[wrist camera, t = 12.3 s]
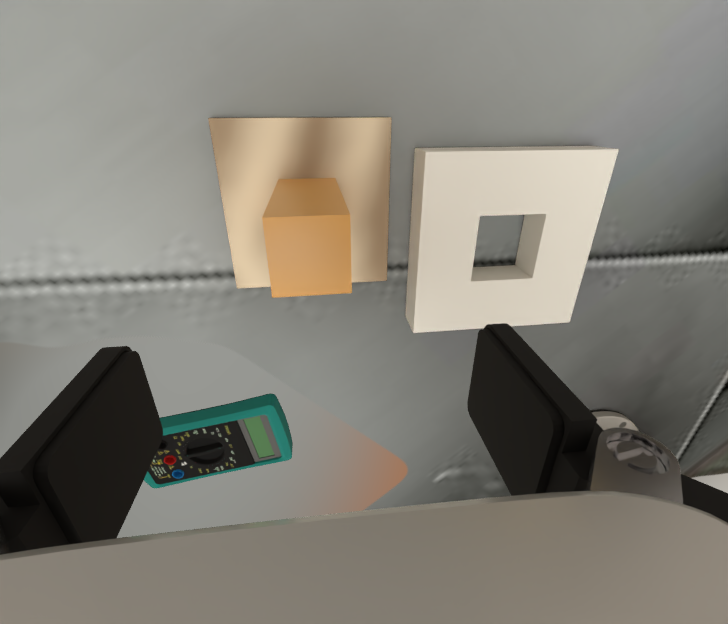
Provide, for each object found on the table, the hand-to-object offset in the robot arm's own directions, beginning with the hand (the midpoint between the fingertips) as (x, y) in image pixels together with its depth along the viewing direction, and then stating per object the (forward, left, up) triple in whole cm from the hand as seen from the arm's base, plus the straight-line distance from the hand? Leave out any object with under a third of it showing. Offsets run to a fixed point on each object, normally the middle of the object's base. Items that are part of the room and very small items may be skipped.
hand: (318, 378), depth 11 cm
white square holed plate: (-15, +3, -21) cm, 26 cm away
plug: (0, 0, -20) cm, 20 cm away
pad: (0, 0, -21) cm, 21 cm away
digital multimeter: (+11, +22, -22) cm, 33 cm away
